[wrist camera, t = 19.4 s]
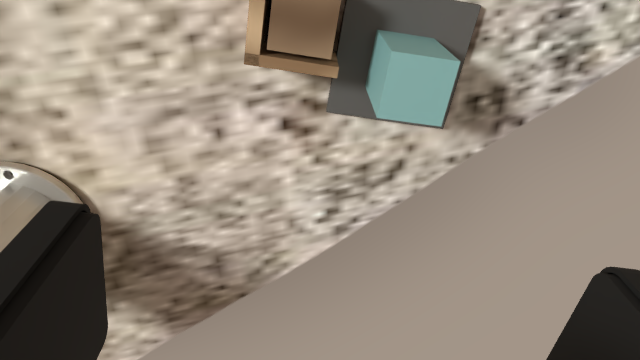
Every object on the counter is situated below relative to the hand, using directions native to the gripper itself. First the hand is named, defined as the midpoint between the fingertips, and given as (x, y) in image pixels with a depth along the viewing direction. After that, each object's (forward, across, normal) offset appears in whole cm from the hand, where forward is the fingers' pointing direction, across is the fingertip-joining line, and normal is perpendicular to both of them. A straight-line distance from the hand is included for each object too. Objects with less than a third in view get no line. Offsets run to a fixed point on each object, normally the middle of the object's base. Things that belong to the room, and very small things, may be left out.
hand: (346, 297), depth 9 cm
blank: (+30, -7, +2) cm, 31 cm away
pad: (+30, -7, +2) cm, 31 cm away
